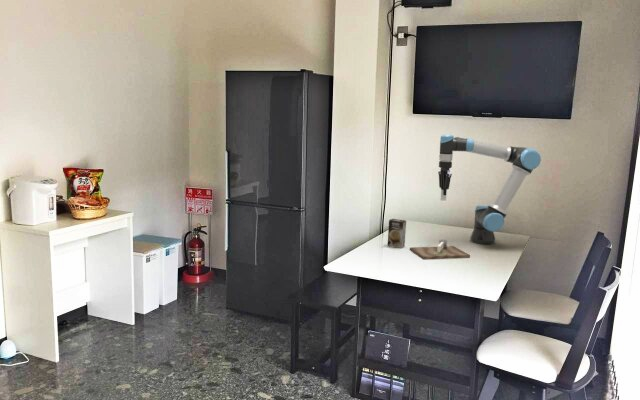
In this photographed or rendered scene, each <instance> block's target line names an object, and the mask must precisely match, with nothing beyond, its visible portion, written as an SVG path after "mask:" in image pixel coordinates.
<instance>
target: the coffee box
mask: <svg viewBox="0 0 640 400" xmlns="http://www.w3.org/2000/svg"><path fill="white" fill-rule="evenodd" d="M406 228H407V220H405V219H397V218H391V219H389V220H388V234H387V236H388V237H387V247H389V248H391V247H392V248H396V249H403V248H404V247H405V246H406V245H405V243H406V234H407V233H406V232H407V229H406Z"/></svg>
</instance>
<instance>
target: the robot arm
mask: <svg viewBox="0 0 640 400" xmlns="http://www.w3.org/2000/svg"><path fill="white" fill-rule="evenodd" d="M454 152H467V153H472V154H477V155H480V156H487V157H491V158H495V159H500V160H503V161H504V162H507V163H511V164H512V170H511V172H510V173H509V175H508V177H507V178H506V180H505V182H504V183H503V185H502V187H501V189H500V191H499V192H498V195H497V196H496V197H495V199H494V201H493V202H492V203H491V204H488V205H476V207H475V210H474V212H475V213H474V222H473V223H474V224H473V230H472V232H471V235H470V237H469V238H470V239H469V240H470V242H471V243H475V244H480V245H494V244H495V243H496V237H495V232H499V231H500V230H501V229H502V228H503V227H504V226H505V218H506V216H507V215H508V214H507V210H508V208H509V206H510V204H511V203H512V201H513V199H514V197H515V196H516V194H517V192H518V191H519V189H520V188H521V186H522V184H523V182H524V181H525V179H526V177H527V176H530V175H531V173H532V172H533V171H534V170H535V169H536V168H538V167H540V164H541V161H542V158H541V155H540V153H539V151H537V150H536V149H534V148H529V147H522V146H521V147H520V146H510V145H508V146H503V145H496V144H492V143H487V142H483V141H478V140H474V139H472V138H463V137H459V136H454V135H453V134H442V135H441V136H440V141H439V156H438V159H439V161H438V167H439V168H440V171H439V170H438V185H439V188H440V201H447V194H448V192H447V190H449V189H450V183H451V178H452V176H453V173H450V169H451V168H452V167H453V154H454Z"/></svg>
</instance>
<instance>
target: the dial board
mask: <svg viewBox="0 0 640 400" xmlns="http://www.w3.org/2000/svg"><path fill="white" fill-rule="evenodd" d="M437 248H438V246H420V247H419V246H414V247H412V246H411V247H409V251H410V252H412V253H413V254H415V255H416V256H418V257H419V258H420V259H422V260H440V259H441V260H442V259H443V260H444V259H447V260H448V259H469V258H470V257H471V255H470V254H469V253H467V252H465V251H464V250H462V249H460V248H458V247H456V246H454V245H447V248H446V249H442V250H441V252H440V253H439V252H437Z"/></svg>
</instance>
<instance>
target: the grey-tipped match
mask: <svg viewBox="0 0 640 400" xmlns="http://www.w3.org/2000/svg"><path fill="white" fill-rule="evenodd" d="M438 242H439V243H438V245H437V247H438V248H437V252H439V253H440V252H441V250H442V249H446V248H447V246H448V240H446V239H439V241H438Z"/></svg>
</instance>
